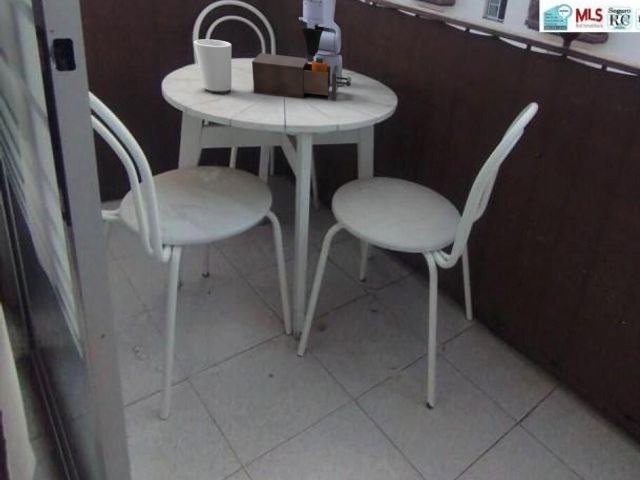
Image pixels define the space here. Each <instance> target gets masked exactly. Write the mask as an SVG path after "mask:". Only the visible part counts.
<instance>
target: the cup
mask: <svg viewBox="0 0 640 480" xmlns="http://www.w3.org/2000/svg"><path fill="white" fill-rule="evenodd" d="M193 45H194V50H195V54H196V60H197V63H198V67H199V68H198V69H199V72H200V77H201V81H202V85H203V89H204V91H206V92H209V93H210V94H216V93H217V92H219V93H220V94H222V95H225V94H227V93H230V92H231V91H232V43H230V42H228V41H224V40H219V39H210V38H209V39H208V38H207V39H205V38H204V39H196V40H194V41H193Z"/></svg>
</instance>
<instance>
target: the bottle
mask: <svg viewBox="0 0 640 480" xmlns="http://www.w3.org/2000/svg"><path fill="white" fill-rule="evenodd" d="M311 64H312V71H316V72H325V73H327V63H326V62H323V58H320V57H316V61H314V60H312V61H311Z"/></svg>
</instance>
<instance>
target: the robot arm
mask: <svg viewBox="0 0 640 480" xmlns="http://www.w3.org/2000/svg"><path fill="white" fill-rule="evenodd" d="M336 1H337V0H302V16H299V17H298V20H299V21H302V22H304V23H306V25H304V26H301V32H302V34H303V37H304V40H305V41H304V42H305V46H306V52H307V55H308V56H309V57H310V56H311V57H313V61H316V57H320V58H323V62H326V63H327V66H330V86H332V73H333V70H334V66H335V65H337V66H339V68H338V77H343V57H342V55H341V54H339V53H340V52H341V47H342V31H341V28H340V27H339V25H338V24H336V22H335V14H336V13H335V12H336ZM338 81H341V82H343V80H341V79H338ZM339 86H341V87H342V86H343V84H338V87H339Z"/></svg>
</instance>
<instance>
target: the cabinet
mask: <svg viewBox="0 0 640 480" xmlns="http://www.w3.org/2000/svg"><path fill="white" fill-rule="evenodd" d="M307 63H309V59H308V58H306V57H299V56H298V57H297V56H288V55H282V54H281V55H280V54H272V53H263V52H260V53H259V54H258V55H257V56H256V57H255V58H254V59H253V60H252V61H251V70H252V82H253V84H252V85H253V93H255V94H260V95H261V94H263V95H272V96H280V97H291V98H300V99H304V97H305V96H306V93H304V87H303V69H304V67H305V65H306V64H307Z"/></svg>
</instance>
